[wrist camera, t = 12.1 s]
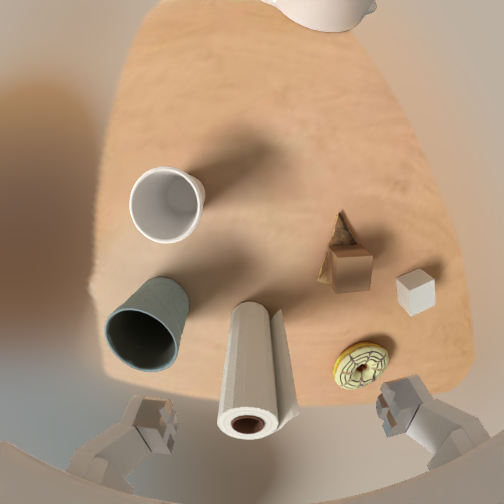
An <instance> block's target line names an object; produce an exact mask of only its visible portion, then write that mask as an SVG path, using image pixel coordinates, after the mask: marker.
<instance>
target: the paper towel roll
mask: <svg viewBox="0 0 504 504" xmlns="http://www.w3.org/2000/svg"><path fill="white" fill-rule="evenodd" d="M297 415H299V410H298V403H297V397H296V391H295V384H294V378H293V372H292V366H291V360H290V355H289V349H288V343H287V337H286V332H285V326H284V320H283V315H282V309H280V310H279V311H277V313H276V314H275V315H274V316H273V318H272V320H271V321H270V319H269V314H268V311H267V310H266V309H265V308H264V307H263V305H260V304H258V303H256V302H244V303H241V304H239V305H238V306H237V307H235V309H234V310H233V312H232V314H231V321H230V329H229V336H228V343H227V351H226V358H225V366H224V373H223V381H222V389H221V396H220V404H219V413H218V422H217V424H218V426H219V428H220V429H221V431H223V432H224V433H226V434H227V435H229V436H232V437H235V438H239V439H258V438H262V437H265V436H267V435H269V434H272V433H274V432H276V431H278V430H279V429H280V428H281V427H282V426H283V425H284V424H285V423H286V422H287V421H289V420H290V419H291V418H293V417H295V416H297Z"/></svg>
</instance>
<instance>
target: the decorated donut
mask: <svg viewBox="0 0 504 504" xmlns="http://www.w3.org/2000/svg"><path fill="white" fill-rule="evenodd" d="M388 363H389V358H388V352H387V350H385V349H383V348H382V347H381V346H379V345H377V344H375V343H370V342H361V343H358V344H355V345H353V346H350V347H349V348H348V349H346V350H345V351H344V352H342V353H341V354H340V356H339V357H338V359H337V361H336V363H335V366H334V370H333V375H334V379H335V381H336V383H337V384H338V385H339V386H340V387H343V388H346V389H348V390H351V389H358V388H361V387H363V386H366V385H368V384H370V383H372V382H373V381H375V380H376V379H377V378H379V377H380V376H381V375H382V373H383V372H384V371H385V369H386V368H387V365H388ZM361 364H364V365H363V366H361V367H359V368H357V367H358V366H360V365H361Z"/></svg>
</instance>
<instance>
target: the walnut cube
mask: <svg viewBox="0 0 504 504" xmlns="http://www.w3.org/2000/svg"><path fill="white" fill-rule="evenodd" d="M372 264H373V255H372V254H371V253H369V252H368V251H367V250H366V249H365V248H363V247H362V246H361V245H345V246H328V263H327V280H328V282H329V283H330V285H331V287H332V288H333V290H334V292H335V293H336V294H337V293H348V292H359V291H369V290H370V283H371V274H372Z"/></svg>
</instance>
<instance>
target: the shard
mask: <svg viewBox="0 0 504 504" xmlns="http://www.w3.org/2000/svg"><path fill="white" fill-rule="evenodd" d="M345 245H358V244H357V243H356V241H355V239H354V237H353V235H352V233H351V232H350V230H349V229H348V228H347V226H346V224H345V222H344V219H343V217H342V216H341V214H340V213H339V214H338V215H337V217H336V221H335V227H334V231H333V235H332V238H331V240H330V242H329V244H328V246H345ZM327 263H328V247H327V251H326V254H325V256H324V260H323V262H322V264H321V268H320V272H319V275H318V278H317V281H319V282H321V283H325V284H327V285H330V283H329V282H328V280H327Z"/></svg>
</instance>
